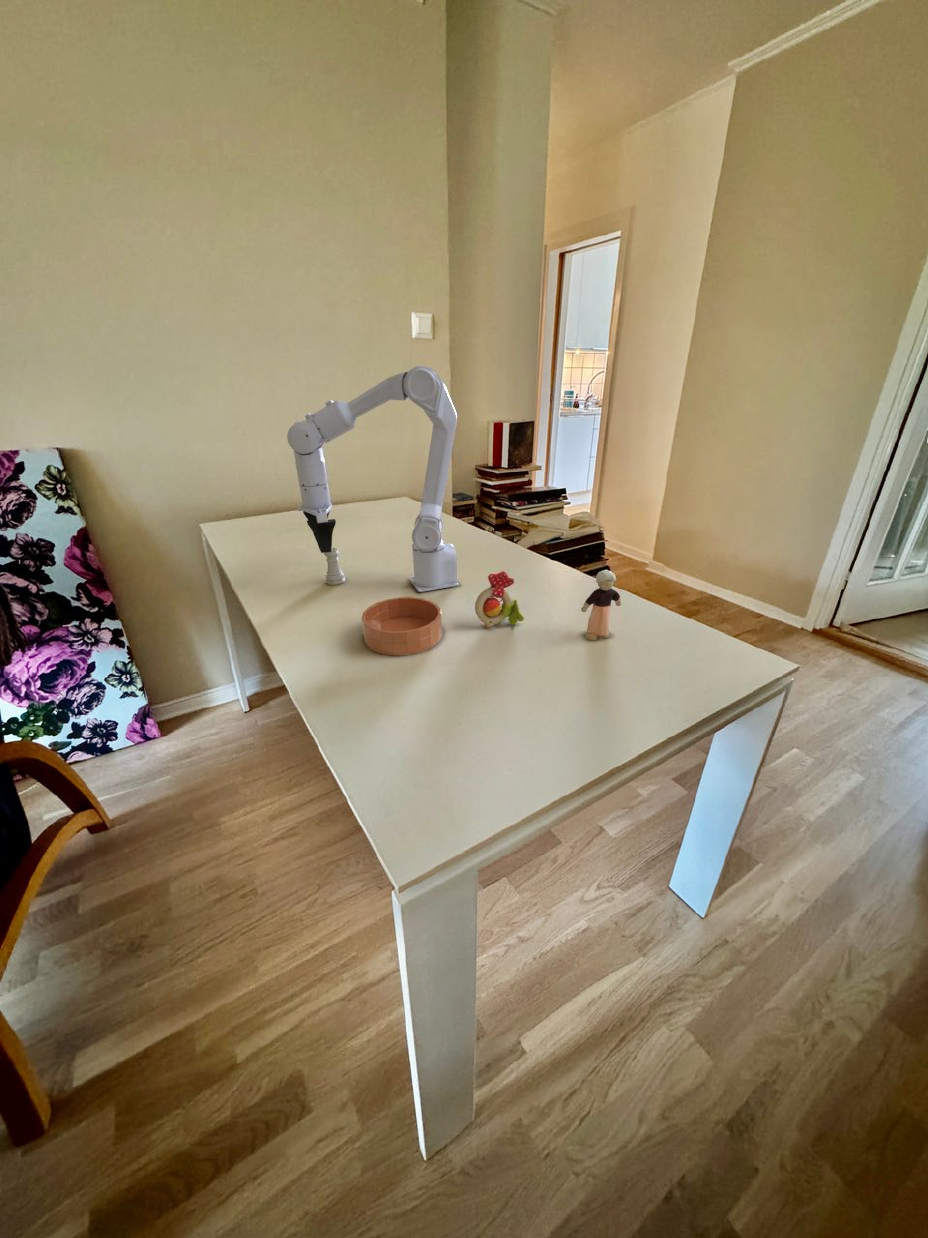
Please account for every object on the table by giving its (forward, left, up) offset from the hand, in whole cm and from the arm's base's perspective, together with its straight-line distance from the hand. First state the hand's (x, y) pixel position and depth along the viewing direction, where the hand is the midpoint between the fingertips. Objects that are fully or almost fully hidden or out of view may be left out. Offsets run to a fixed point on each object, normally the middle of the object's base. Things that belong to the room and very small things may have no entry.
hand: (323, 546), depth 105 cm
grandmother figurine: (-43, +43, -10) cm, 61 cm away
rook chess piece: (-2, -2, -10) cm, 10 cm away
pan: (-10, +29, -10) cm, 32 cm away
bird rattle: (-28, +32, -10) cm, 43 cm away
